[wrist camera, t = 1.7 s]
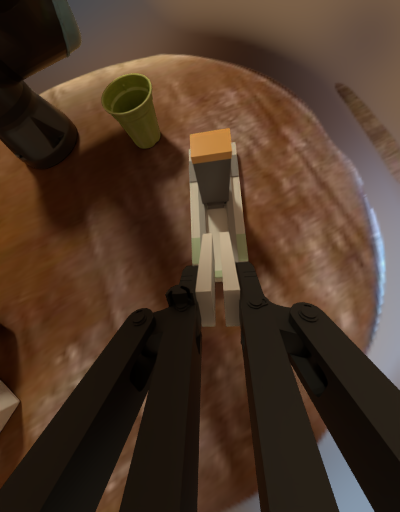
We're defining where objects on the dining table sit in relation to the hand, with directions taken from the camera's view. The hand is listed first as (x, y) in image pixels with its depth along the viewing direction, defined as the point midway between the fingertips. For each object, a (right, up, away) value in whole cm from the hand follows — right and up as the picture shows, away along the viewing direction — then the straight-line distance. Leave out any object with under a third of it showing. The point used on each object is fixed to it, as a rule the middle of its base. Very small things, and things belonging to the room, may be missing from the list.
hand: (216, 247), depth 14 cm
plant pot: (-13, +26, +24) cm, 37 cm away
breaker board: (+2, +8, +17) cm, 19 cm away
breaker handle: (+1, +9, +15) cm, 18 cm away
